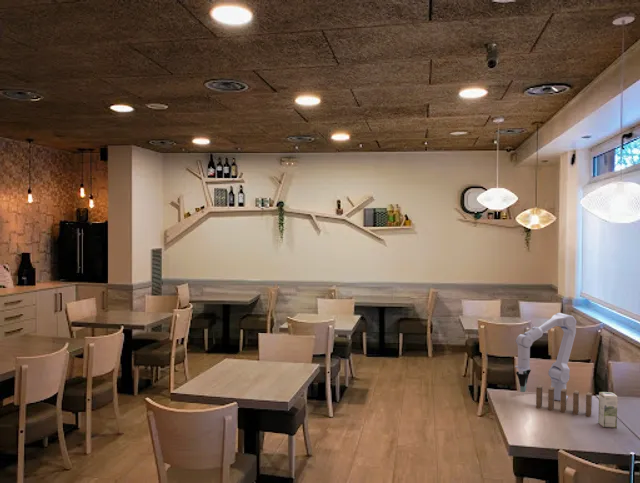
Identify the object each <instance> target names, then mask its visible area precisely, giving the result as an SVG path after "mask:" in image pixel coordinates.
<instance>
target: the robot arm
mask: <svg viewBox="0 0 640 483" xmlns="http://www.w3.org/2000/svg"><path fill="white" fill-rule="evenodd" d="M554 327H559V328H560V329H561V330H562V332H563V335H562V338H561V342H560V346H559V350H558V354H557V356H556V359H555V360H556V361H555V362H553V363H552V364H551V367H549V370H548V373H547V374H548V376H549V378H550V384H551V385H550V387H554V401H560V402H561V390H562V389H567V384H568V382H569V380H570V378H571V376H570V373H571V372H570V371H571V368H569V361H570V356H571V353H572V349H573V346H574V343H575V342H574V341H575V338H576V334H577V319H576V318H575V317H574V315H571V314H567V313H562V312H557V313H555V314H552V316H551V318H549V319H548V320H546V321H545V322H544V323H542V324H541V325H540V326H532V327H531V328H530V329H529V330H527V331H525V332H524V333H522V334H521V333H520V334H519V335H518V336H516V339H515V344H516V345H517V365H515V366H514V368H516V369H517V370H518V371H516V372H515V373H516V376H517V379H518V384H519V387H520V386H523V387H524V386H525V382H526V385H527V383H528V378H529V375H530V373H531V371H532V370H531V367H530V366H531V365H530V364H531V362H530V361H531V358H530V357H531V347H532V346H533V344H534V342H535V341H537V340H538V339H540V338H541V337H543V336H544V335H543V334H544V333H546V332H547V331H549V330H551V329H553V328H554ZM524 371H526V373H525V372H524ZM568 397H569V396H568V395H566V401H567V400H568Z"/></svg>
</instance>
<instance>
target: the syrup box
mask: <svg viewBox="0 0 640 483" xmlns="http://www.w3.org/2000/svg"><path fill="white" fill-rule="evenodd" d="M618 402H619V401H618V395H616V394H615V393H613V392H609V391H608V392H607V391H599V392H598V420H597V421H598V422H597V423H598V424H599V425H600V426H602V427H603V428H611V429H612V428H615V429H616V428H617V426H618V425H617V424H618V423H617V422H618Z"/></svg>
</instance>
